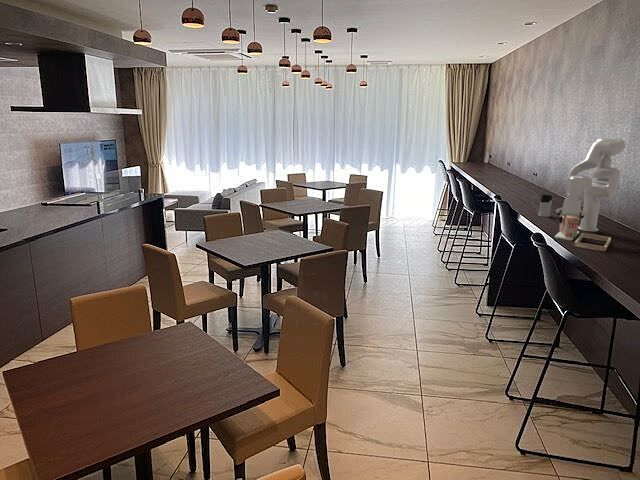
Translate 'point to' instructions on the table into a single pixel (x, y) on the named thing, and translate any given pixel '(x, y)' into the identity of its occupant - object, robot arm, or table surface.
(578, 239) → the beige open rectangular frame
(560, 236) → the sage mat
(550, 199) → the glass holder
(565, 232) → the stack of blocks
